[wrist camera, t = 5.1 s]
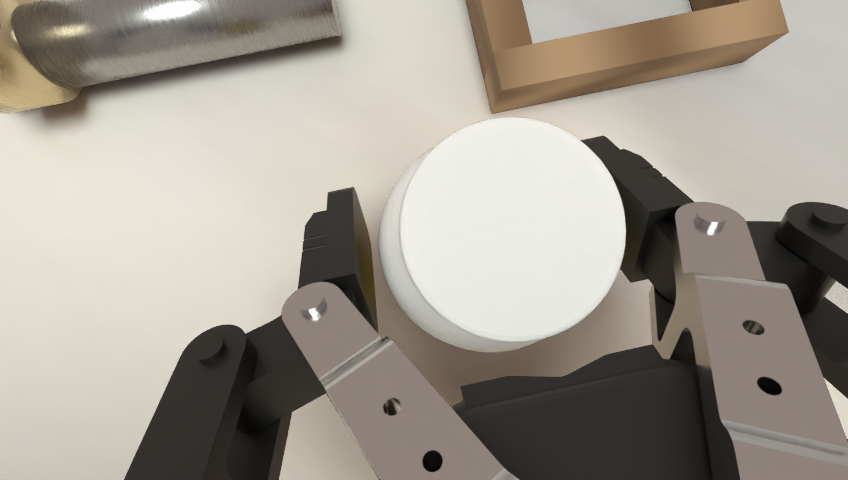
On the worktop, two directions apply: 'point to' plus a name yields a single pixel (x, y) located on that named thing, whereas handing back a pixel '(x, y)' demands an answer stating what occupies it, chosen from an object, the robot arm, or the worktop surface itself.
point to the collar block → (614, 49)
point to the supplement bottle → (502, 235)
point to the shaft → (137, 39)
